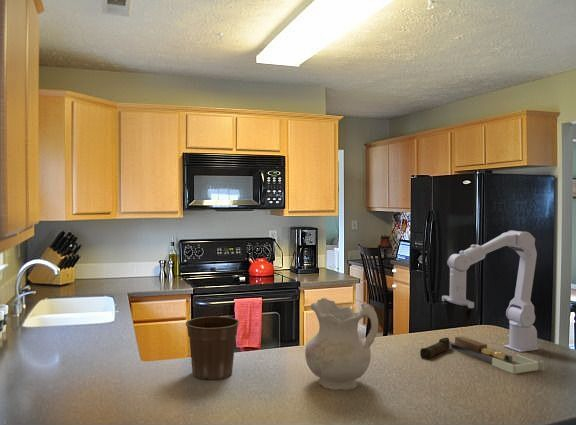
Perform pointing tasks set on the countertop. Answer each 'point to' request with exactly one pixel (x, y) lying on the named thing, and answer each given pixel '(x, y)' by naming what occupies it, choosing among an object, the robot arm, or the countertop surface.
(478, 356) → the slot rails
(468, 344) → the long wooden beam
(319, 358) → the ceramic pitcher
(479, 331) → the countertop surface
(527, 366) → the tray
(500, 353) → the chip
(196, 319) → the plant pot
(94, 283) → the countertop surface
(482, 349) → the chip
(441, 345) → the brown wooden log
